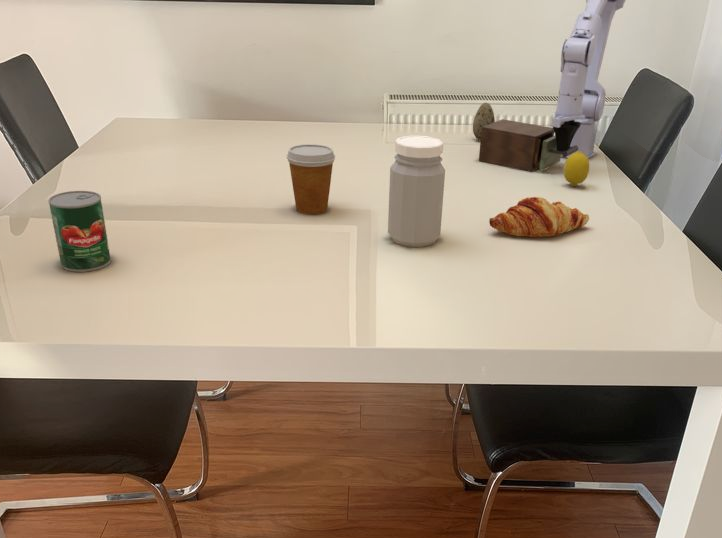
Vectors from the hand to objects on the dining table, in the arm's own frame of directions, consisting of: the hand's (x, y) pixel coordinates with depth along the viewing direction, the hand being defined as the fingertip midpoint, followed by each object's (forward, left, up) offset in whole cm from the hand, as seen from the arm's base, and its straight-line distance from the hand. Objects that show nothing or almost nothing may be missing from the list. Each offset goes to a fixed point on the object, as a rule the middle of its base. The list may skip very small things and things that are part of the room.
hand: (562, 152), depth 182 cm
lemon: (+10, +8, -4) cm, 13 cm away
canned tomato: (+106, -40, -4) cm, 114 cm away
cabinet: (0, -12, -4) cm, 13 cm away
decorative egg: (-14, -28, -4) cm, 32 cm away
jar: (+62, -3, -4) cm, 62 cm away
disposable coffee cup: (+61, -28, -4) cm, 68 cm away
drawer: (0, -6, -3) cm, 7 cm away
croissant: (+43, +14, -4) cm, 45 cm away
